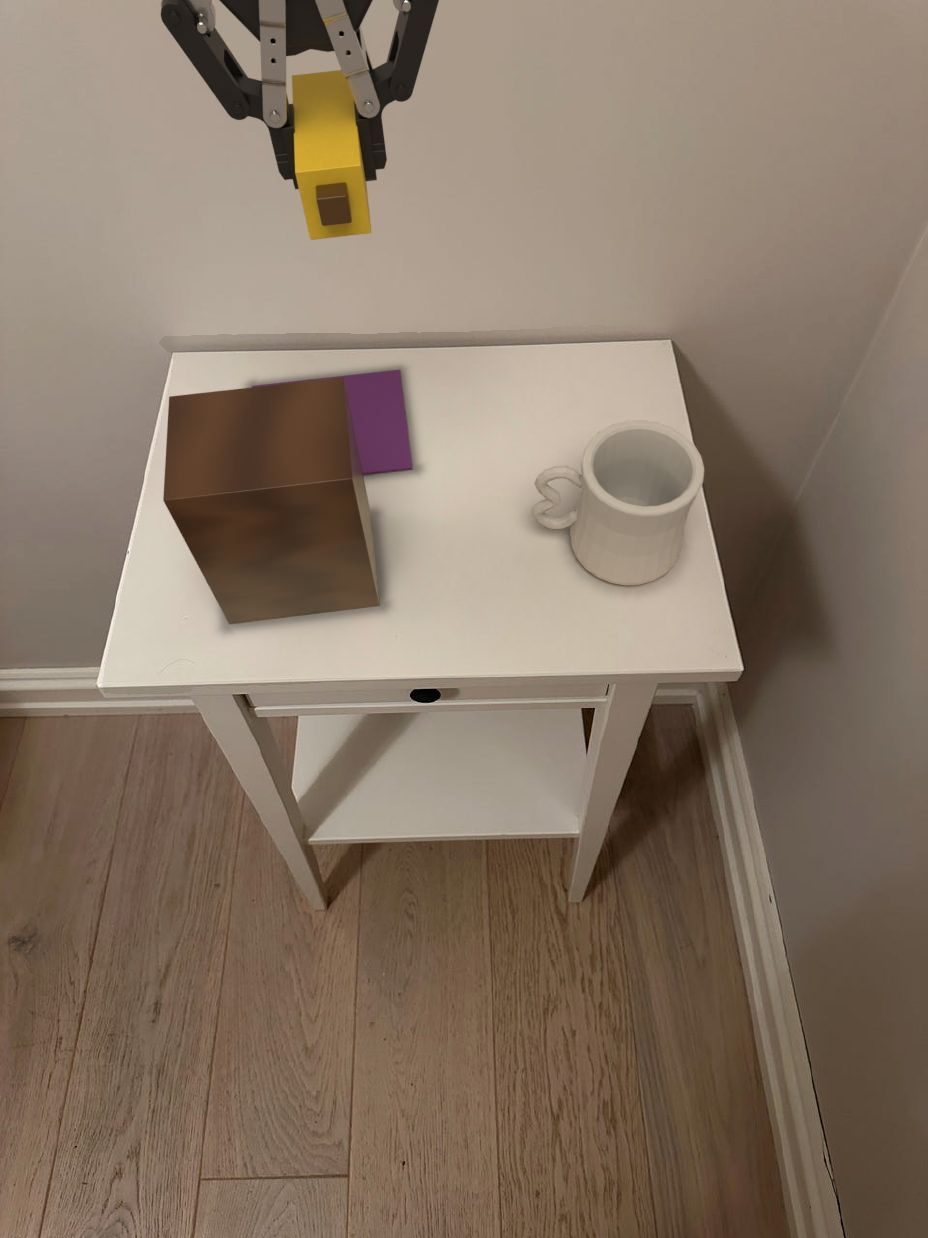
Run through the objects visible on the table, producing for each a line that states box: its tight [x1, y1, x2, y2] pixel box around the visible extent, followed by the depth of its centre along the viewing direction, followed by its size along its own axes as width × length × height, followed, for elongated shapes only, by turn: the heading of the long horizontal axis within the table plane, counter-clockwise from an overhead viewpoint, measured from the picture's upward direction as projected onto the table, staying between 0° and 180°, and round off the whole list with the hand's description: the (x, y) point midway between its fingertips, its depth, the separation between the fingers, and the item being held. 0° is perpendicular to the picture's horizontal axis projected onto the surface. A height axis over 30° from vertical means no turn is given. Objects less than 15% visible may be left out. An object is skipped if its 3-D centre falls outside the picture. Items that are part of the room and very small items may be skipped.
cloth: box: [251, 368, 414, 476], centre depth 78 cm, size 14×12×1 cm
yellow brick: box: [291, 69, 372, 241], centre depth 48 cm, size 11×3×4 cm, turn 7°
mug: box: [531, 419, 705, 586], centre depth 67 cm, size 12×9×10 cm
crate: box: [162, 377, 380, 625], centre depth 64 cm, size 12×9×16 cm
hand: (335, 175), depth 49 cm, fingers closed on yellow brick, 3 cm apart
